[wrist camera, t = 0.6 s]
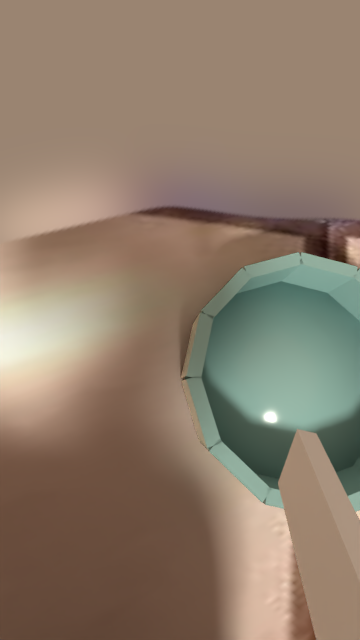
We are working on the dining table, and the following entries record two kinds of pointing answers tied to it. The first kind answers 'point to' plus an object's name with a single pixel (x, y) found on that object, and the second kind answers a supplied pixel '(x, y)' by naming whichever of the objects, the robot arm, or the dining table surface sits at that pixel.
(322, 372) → the bowl
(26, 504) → the dining table surface
